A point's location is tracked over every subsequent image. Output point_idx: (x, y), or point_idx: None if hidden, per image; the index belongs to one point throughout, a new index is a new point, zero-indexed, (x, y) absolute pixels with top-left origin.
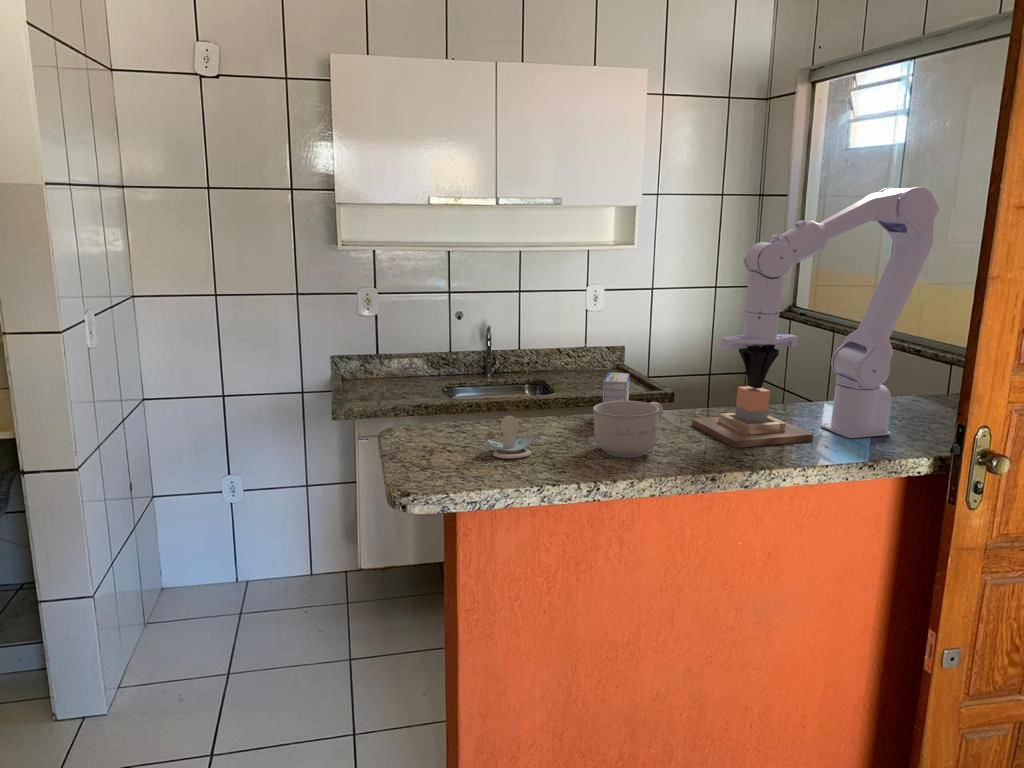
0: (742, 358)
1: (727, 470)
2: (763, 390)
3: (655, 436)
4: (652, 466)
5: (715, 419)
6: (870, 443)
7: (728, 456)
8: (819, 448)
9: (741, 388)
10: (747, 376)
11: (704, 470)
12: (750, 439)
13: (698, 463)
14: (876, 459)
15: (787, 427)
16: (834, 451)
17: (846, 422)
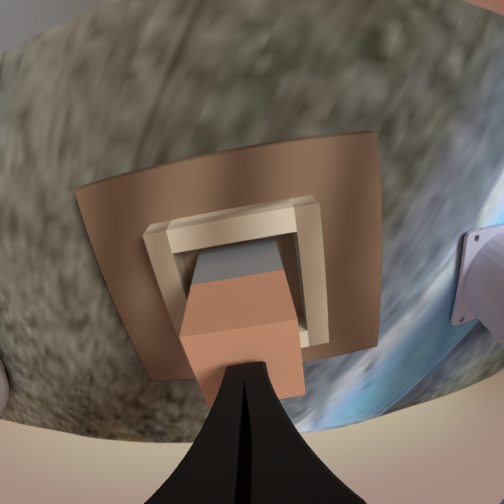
0: (164, 484)
1: (121, 436)
2: (279, 390)
3: (4, 408)
4: (24, 402)
5: (148, 199)
6: (461, 340)
7: (132, 400)
8: (349, 375)
9: (189, 358)
10: (215, 399)
11: (89, 429)
12: (193, 376)
13: (80, 411)
14: (398, 409)
15: (354, 294)
16: (364, 386)
17: (478, 317)
